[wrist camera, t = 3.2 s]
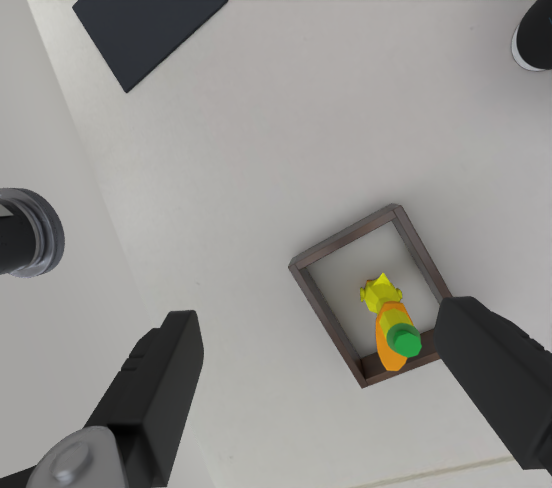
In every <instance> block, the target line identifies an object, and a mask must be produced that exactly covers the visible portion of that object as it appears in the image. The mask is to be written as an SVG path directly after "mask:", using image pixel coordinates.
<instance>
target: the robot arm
mask: <svg viewBox="0 0 552 488" xmlns="http://www.w3.org/2000/svg"><path fill="white" fill-rule="evenodd" d="M43 251H44V234H43V230H42V227H41V225H40V222H39V221H38V219H37V217H36V216H35V214H34V213H33V212H32V211H31V210H30V209H29V208H28V207H27V206H26V205H25V204H23V203H21V202H20V201H17V200H15V199H11V198H0V275H1V274H5V273H9V272H13V271H20V270H24V269H28V268H31V267H33V266H34V265H36V264H37V263H38V262H39V260H40V259H41V257H42V254H43ZM433 342H434V346H435V349H436V352H437V353H438V355H439V356H440V358H441V359H442V361H443V362H444V363H445V365H446V366H447V367H448V369H449V370H450V371H451V373H452V374H453V375H454V377H455V378H456V379H457V381H458V382H459V384H460V385H461V386H462V388H463V389H464V390H465V392H466V393H467V394H468V396H469V397H470V398H471V400H472V401H473V403H474V404H475V405H476V407H477V408H478V409H479V411H480V412H481V413H482V415H483V416H484V417H485V419H486V420H487V422H488V423H489V424H490V426H491V427H492V428H493V430H494V431H495V432H496V434H497V435H498V436H499V438H500V439H501V441H502V442H503V443H504V445H505V446H506V447H507V449H508V450H509V451H510V453H511V454H512V455H513V457H514V458H515V459H516V461H517V462H518V464H519V465H520V466H521V468H522V469H523V470H528V469H546V470H547V471H548V472H549V473H550V475H551V476H552V353H550V352H549V351H548V350H546V351H545V350H544V347H543V346H542V345H540V344H539V343H538V342H537V341H535V340H534V339H530V337H529V335H528V334H527V333H525V332H524V331H523V330H522V329H520V328H519V327H518V326H517V325H515V324H514V323H513V322H511V321H509V320H507V319H505V318H503V317H502V316H500V315H498V314H496V313H494V312H491V311H490V310H489V309H488V308H486V307H485V306H484V305H483V304H482V303H480V302H479V301H478V300H477V299H475V298H474V297H471V296H465V297H446V298H444V299H443V300H442V301H441V304H440V308H439V312H438V317H437V321H436V325H435V329H434V333H433ZM203 359H204V347H203V342H202V337H201V332H200V327H199V322H198V317H197V313H196V311H195V310H185V311H170V312H169V313H168V315H167V316H166V318H165V320H164V322H163V324H162V325H161V327H160V328H152V329H151V330H150V331H149V332H148V333H147V334H146V335H144V336H143V337H142V338H141V339H140V340H139V341H138V342H137V344H136V345H135V347H134V348H133V350H132V351H131V353H130V355H129V358H127V360H126V361H125V363H124V364H123V366H122V367H121V371H119V372H118V374H117V375H116V377H115V378H114V380H113V382H112V383H111V385H110V386H109V388H108V389H107V391H106V393H105V394H104V396H103V397H102V399H101V400H100V402H99V404H98V405H97V407H96V408H95V410H94V411H93V413H92V415H91V416H90V418H89V419H88V421H87V422H86V424H85V426H84V427H83V428H82V429H81V430H78V431H76V432H74V433H72V434H70V435H69V436H67V437H65V438H64V439H63V440H61V441H60V442H58V443H57V444H56V445H55V446H54V447H52V448H51V449H50V450H49V451H48V452H47V453H46V455H44V457H43V458H42V459H41V460H40V461H39V463H38V464H37V465H35V466H33V467H31V468H28V469H25V470H23V471H20V472H17V473H14V474H11V475H9V476H6V477H3V478H0V488H156V487H167V484H168V481H169V477H170V474H171V471H172V467H173V464H174V460H175V457H176V454H177V450H178V447H179V443H180V440H181V437H182V433H183V430H184V427H185V423H186V420H187V416H188V413H189V410H190V406H191V403H192V399H193V396H194V393H195V389H196V386H197V383H198V379H199V376H200V372H201V369H202V365H203Z"/></svg>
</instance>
